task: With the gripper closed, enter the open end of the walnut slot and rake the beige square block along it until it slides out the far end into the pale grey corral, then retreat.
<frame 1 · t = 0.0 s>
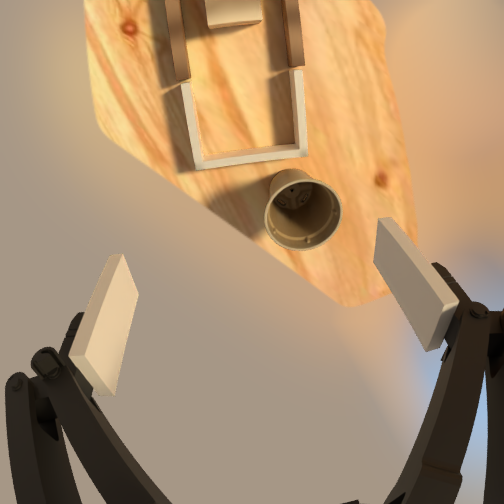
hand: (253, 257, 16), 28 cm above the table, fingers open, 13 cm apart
corral: (245, 115, 38), on the table
beige square block: (231, 4, 30), on the table
flower pot: (290, 188, 45), on the table
slot rails: (233, 18, 31), on the table
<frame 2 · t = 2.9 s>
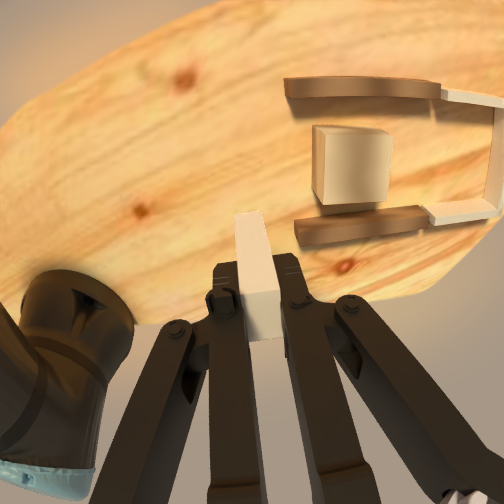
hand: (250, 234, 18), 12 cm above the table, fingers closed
corral: (464, 152, 28), on the table
beige square block: (342, 155, 28), on the table
slot rails: (363, 154, 28), on the table
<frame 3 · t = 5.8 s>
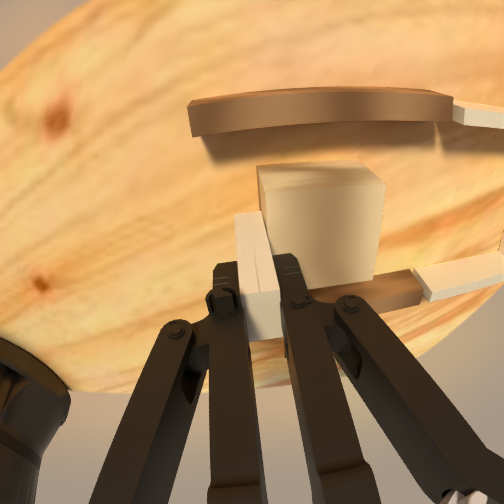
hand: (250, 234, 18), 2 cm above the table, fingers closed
corral: (480, 193, 20), on the table
beige square block: (308, 207, 20), on the table, touching gripper
slot rails: (326, 209, 20), on the table
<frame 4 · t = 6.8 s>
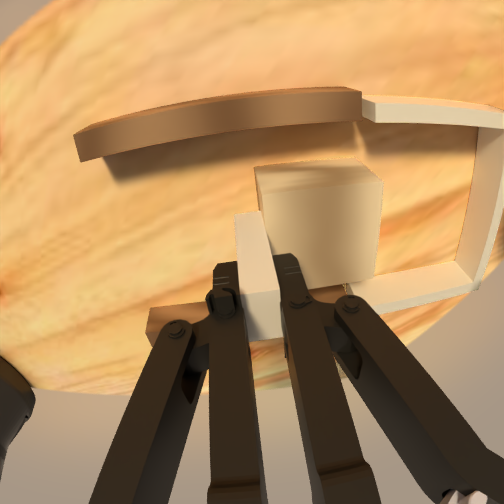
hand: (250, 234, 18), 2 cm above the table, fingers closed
corral: (423, 198, 20), on the table
beige square block: (307, 207, 19), on the table, touching gripper
slot rails: (232, 221, 19), on the table
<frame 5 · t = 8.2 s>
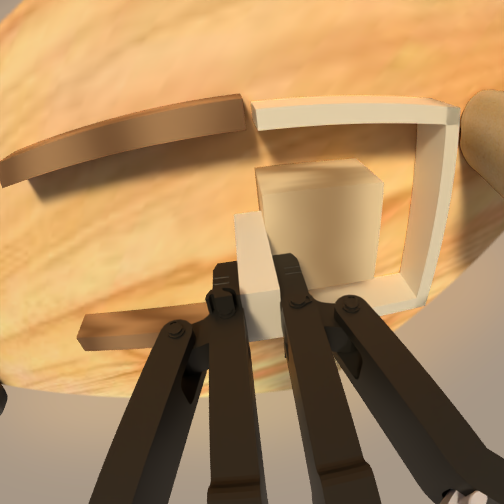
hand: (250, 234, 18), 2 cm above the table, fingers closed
corral: (350, 207, 19), on the table
beige square block: (308, 207, 19), on the table, touching gripper
flower pot: (485, 131, 17), on the table
slot rails: (142, 235, 19), on the table
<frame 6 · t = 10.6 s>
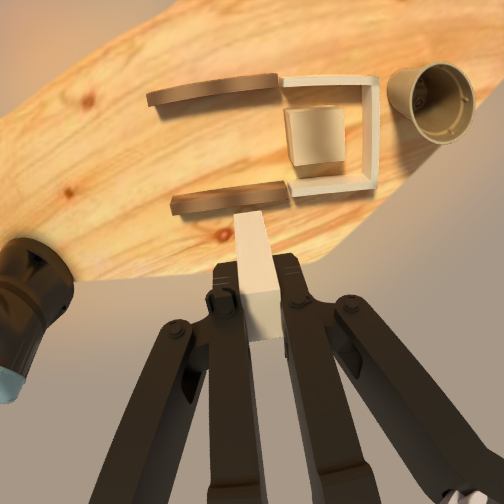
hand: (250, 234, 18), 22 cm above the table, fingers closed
corral: (328, 130, 36), on the table
beige square block: (310, 129, 36), on the table
flower pot: (405, 91, 34), on the table
slot rails: (220, 141, 36), on the table
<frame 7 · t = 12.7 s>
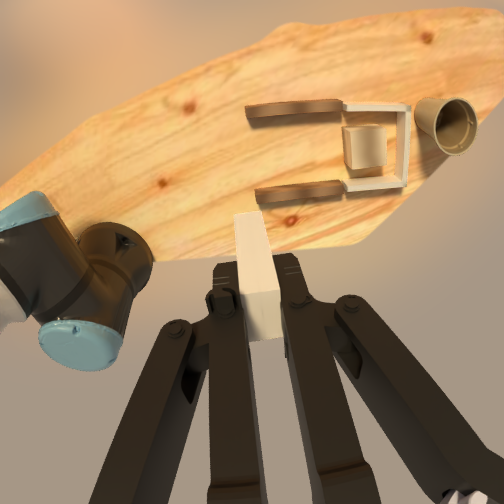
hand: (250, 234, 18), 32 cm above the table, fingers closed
corral: (372, 143, 48), on the table
beige square block: (359, 142, 48), on the table
flower pot: (427, 114, 45), on the table
slot rails: (295, 148, 48), on the table
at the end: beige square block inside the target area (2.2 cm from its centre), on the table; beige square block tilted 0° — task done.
